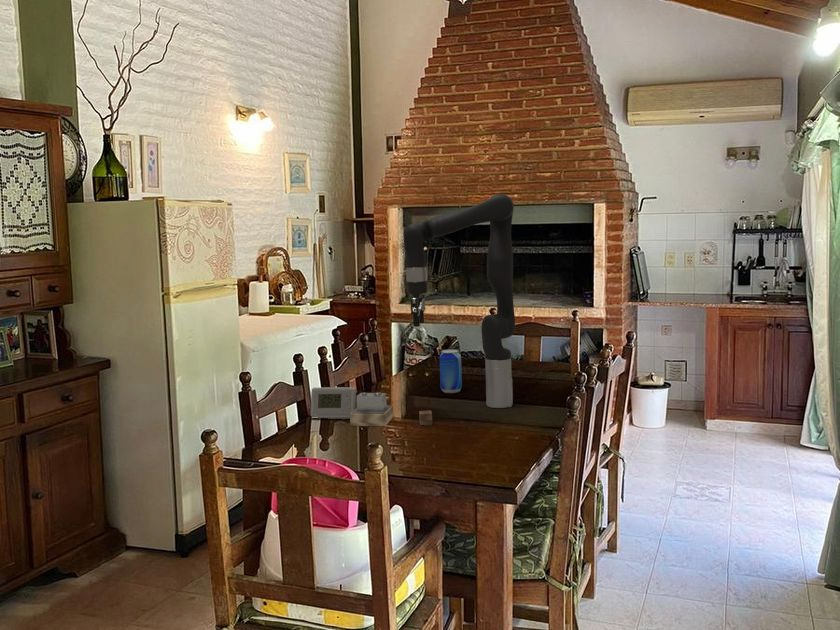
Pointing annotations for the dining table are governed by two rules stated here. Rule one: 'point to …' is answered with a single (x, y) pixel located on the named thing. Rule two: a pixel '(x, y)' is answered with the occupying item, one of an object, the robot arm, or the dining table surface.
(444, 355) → the beer can
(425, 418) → the walnut block
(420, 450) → the dining table surface
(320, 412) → the digital clock
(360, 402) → the housing
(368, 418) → the stand
